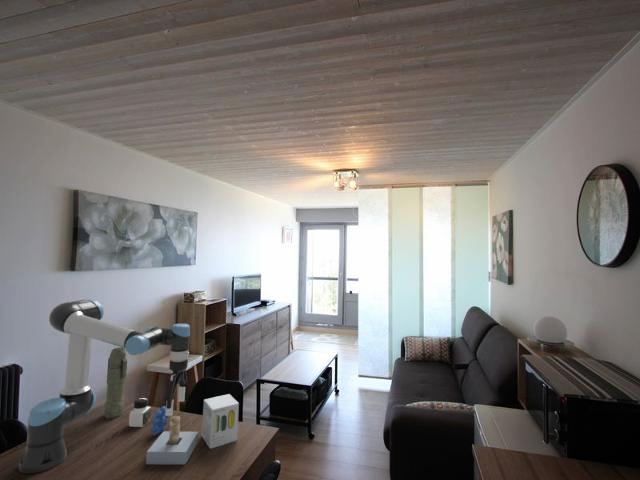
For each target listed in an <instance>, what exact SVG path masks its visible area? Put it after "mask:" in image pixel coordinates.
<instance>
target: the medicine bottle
mask: <svg viewBox="0 0 640 480" xmlns="http://www.w3.org/2000/svg"><path fill="white" fill-rule="evenodd" d="M151 408H152V407H151V406H148V399H147V398H145V397H142V398H141V397H140V398H137V399H135V400H134V404H133V409H132V410H131V411H129V420H128V426H129V427H132V428H135V427H136V428H143V427H145V425H146V424H148V423H149V422H150V421H151V411H152V410H151Z"/></svg>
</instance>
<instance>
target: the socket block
mask: <svg viewBox="0 0 640 480" xmlns="http://www.w3.org/2000/svg"><path fill="white" fill-rule="evenodd" d="M169 434H170V430H168V431H167V430H166V431H164V430H163V431H162V432H161V434H160V435H159V436H158V437H157V439H156V440H155V441H154V442H153V443H152V445H151V446H150V447H149V448H148V450H147V451H146V460H145V465H186V464H187V462H188V460H189V459H190V457H191V455H192V454H193V451H195V448H196V446H197V445H198V443H199V431H179V444H178V445H169Z"/></svg>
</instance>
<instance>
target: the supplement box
mask: <svg viewBox="0 0 640 480" xmlns="http://www.w3.org/2000/svg"><path fill="white" fill-rule="evenodd" d="M239 406H240V403H239V402H238V401H237V400H236V399H235V398H234V397H233V396H232V395H231V394H230V393H228V394H223V395H219V396H214V397H210V398H205V399H203V407H202V409H203V410H202V411H203V412H202V426H201V437H202V438H203V440H204V441H205V443H206V445H207V446H208V448H209V449H210V450H211V449H214V448H217V447H221V446H224V445H226V444H230V443H234V442H236V441H238V431H239V412H240V411H239V408H240V407H239Z"/></svg>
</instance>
